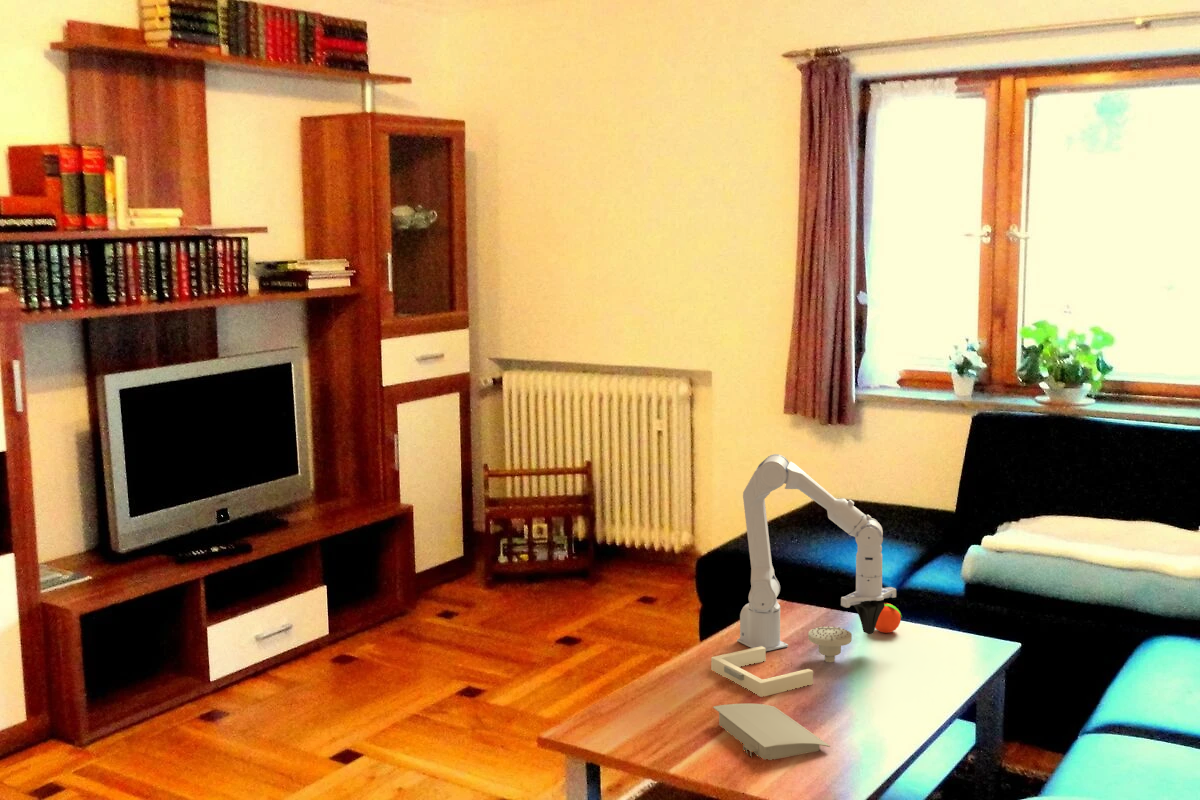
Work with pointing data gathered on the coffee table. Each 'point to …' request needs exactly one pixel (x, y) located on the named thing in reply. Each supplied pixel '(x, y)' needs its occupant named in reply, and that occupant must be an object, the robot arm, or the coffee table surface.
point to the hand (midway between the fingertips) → (868, 632)
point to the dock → (730, 669)
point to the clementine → (888, 619)
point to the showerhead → (830, 640)
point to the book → (767, 730)
